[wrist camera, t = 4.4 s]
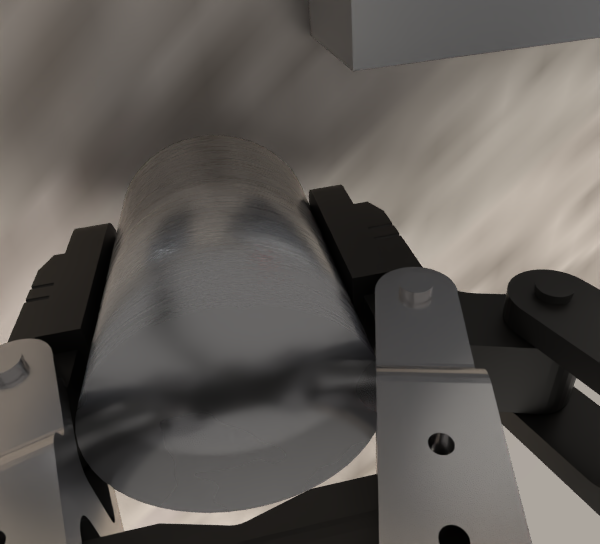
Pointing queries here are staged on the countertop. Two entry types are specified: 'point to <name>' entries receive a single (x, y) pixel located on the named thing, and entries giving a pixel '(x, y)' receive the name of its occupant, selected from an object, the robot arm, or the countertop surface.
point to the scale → (444, 27)
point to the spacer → (223, 339)
